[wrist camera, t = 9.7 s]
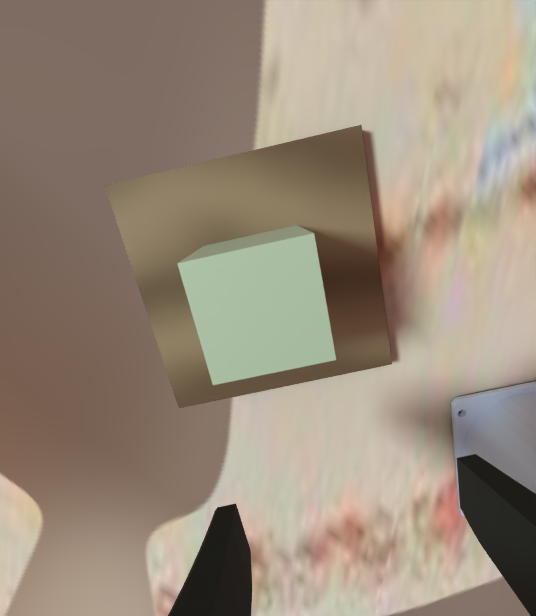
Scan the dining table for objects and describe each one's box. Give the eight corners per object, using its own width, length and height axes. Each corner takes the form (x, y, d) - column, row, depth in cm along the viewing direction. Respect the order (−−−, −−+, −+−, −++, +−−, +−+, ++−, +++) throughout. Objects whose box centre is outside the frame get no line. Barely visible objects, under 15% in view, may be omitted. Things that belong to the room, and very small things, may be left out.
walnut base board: (387, 358, 21) (392, 363, 20) (181, 401, 21) (178, 408, 21) (356, 128, 17) (361, 124, 17) (111, 186, 18) (104, 185, 17)
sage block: (313, 314, 19) (336, 360, 13) (226, 333, 19) (212, 385, 14) (296, 225, 18) (314, 233, 12) (203, 245, 18) (177, 263, 12)
